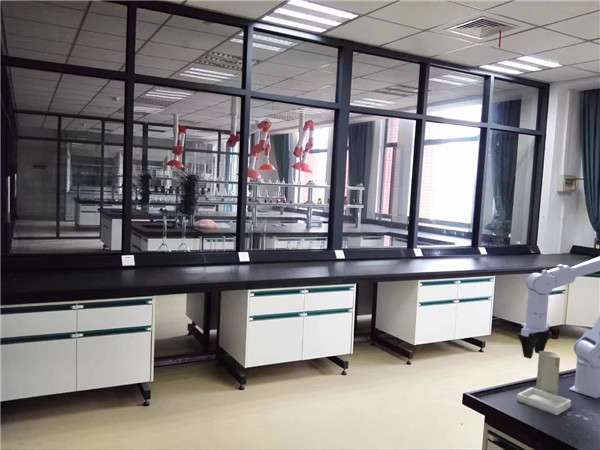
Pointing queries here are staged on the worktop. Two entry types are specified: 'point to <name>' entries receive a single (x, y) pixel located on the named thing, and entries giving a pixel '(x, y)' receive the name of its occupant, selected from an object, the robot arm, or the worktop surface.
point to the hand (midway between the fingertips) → (533, 355)
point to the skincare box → (548, 372)
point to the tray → (544, 400)
